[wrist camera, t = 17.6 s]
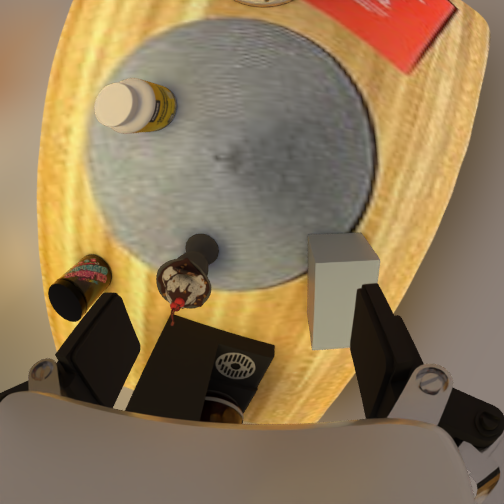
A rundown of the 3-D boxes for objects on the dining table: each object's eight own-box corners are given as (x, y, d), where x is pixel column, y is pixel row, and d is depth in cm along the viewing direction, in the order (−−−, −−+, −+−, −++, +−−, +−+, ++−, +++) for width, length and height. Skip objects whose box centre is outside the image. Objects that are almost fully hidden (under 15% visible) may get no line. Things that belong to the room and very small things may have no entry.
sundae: (197, 277, 44) (167, 342, 31) (172, 241, 42) (128, 296, 29) (233, 258, 43) (214, 322, 29) (207, 220, 40) (174, 270, 27)
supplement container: (119, 280, 46) (89, 316, 36) (95, 292, 48) (66, 325, 38) (99, 247, 44) (63, 277, 34) (75, 261, 45) (41, 290, 36)
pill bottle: (170, 135, 36) (131, 141, 25) (130, 126, 35) (82, 131, 25) (184, 89, 33) (148, 78, 22) (141, 82, 33) (96, 72, 22)
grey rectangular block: (307, 234, 40) (315, 263, 32) (361, 232, 39) (380, 259, 31) (307, 312, 46) (312, 350, 38) (353, 309, 45) (366, 345, 37)
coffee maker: (235, 422, 61) (215, 556, 29) (155, 399, 59) (110, 527, 28) (278, 346, 49) (271, 550, 17) (169, 312, 48) (83, 504, 16)
